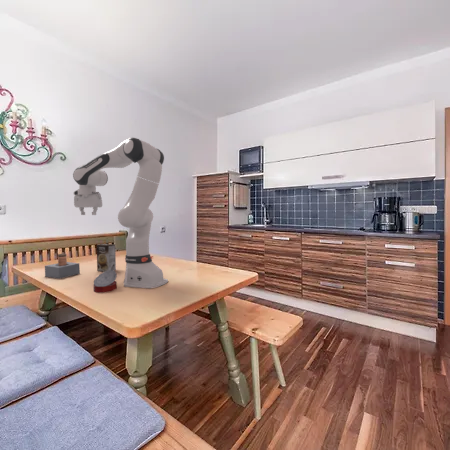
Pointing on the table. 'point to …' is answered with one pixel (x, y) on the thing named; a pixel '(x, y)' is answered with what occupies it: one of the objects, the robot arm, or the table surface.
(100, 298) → the table surface
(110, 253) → the coffee box
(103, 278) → the canned food
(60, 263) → the terracotta peg
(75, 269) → the socket block
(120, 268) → the table surface
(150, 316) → the table surface
